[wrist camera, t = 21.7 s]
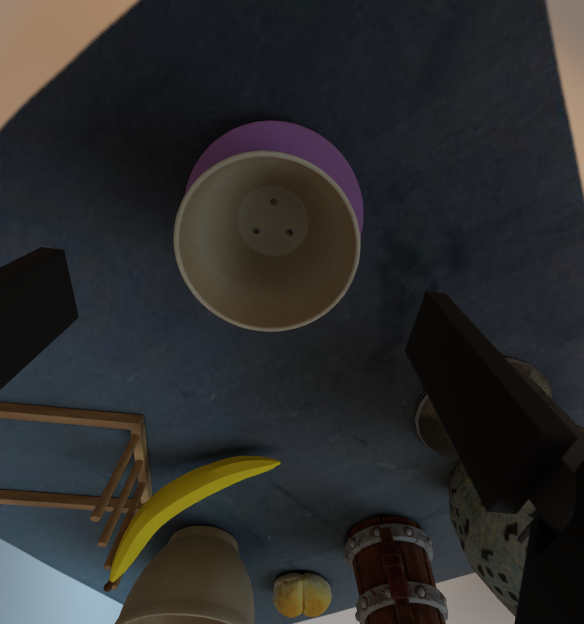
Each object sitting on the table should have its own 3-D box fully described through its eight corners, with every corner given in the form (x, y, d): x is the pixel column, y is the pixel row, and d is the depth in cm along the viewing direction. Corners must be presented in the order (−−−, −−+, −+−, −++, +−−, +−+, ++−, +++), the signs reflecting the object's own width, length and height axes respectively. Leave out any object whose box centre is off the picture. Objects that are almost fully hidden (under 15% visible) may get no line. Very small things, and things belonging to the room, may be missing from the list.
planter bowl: (269, 568, 50) (264, 671, 41) (165, 574, 51) (136, 676, 42) (253, 504, 43) (241, 613, 33) (130, 512, 43) (84, 620, 34)
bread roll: (325, 596, 55) (328, 628, 51) (271, 593, 54) (270, 625, 51) (335, 571, 51) (338, 604, 47) (276, 567, 50) (275, 600, 47)
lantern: (569, 349, 31) (1276, 878, 9) (538, 455, 37) (900, 920, 15) (415, 364, 32) (696, 876, 10) (411, 465, 38) (573, 916, 16)
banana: (266, 435, 40) (290, 480, 36) (110, 530, 36) (113, 596, 31) (259, 422, 39) (284, 467, 34) (94, 520, 34) (95, 588, 29)
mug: (348, 568, 50) (366, 716, 36) (331, 496, 45) (343, 632, 31) (428, 559, 49) (479, 708, 34) (418, 484, 44) (472, 620, 30)
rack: (-68, 395, 34) (-188, 484, 25) (143, 415, 35) (97, 505, 27) (-19, 492, 41) (-98, 585, 33) (154, 505, 43) (120, 597, 34)
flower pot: (174, 210, 24) (132, 239, 17) (283, 108, 21) (280, 99, 14) (265, 307, 28) (258, 360, 21) (369, 232, 25) (395, 268, 18)
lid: (185, 106, 22) (180, 105, 21) (379, 135, 23) (384, 136, 22) (189, 287, 28) (185, 293, 27) (341, 304, 29) (343, 311, 28)
